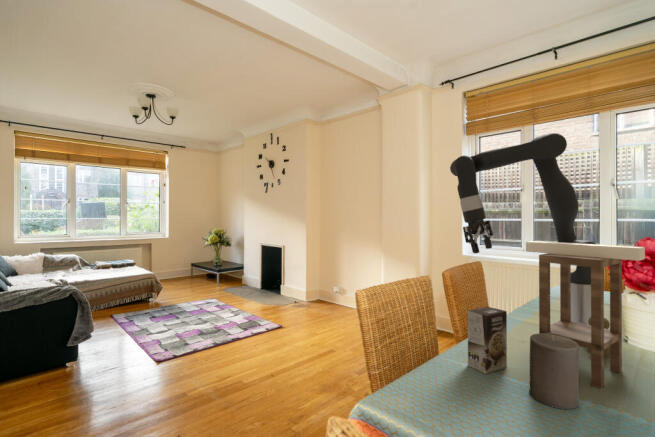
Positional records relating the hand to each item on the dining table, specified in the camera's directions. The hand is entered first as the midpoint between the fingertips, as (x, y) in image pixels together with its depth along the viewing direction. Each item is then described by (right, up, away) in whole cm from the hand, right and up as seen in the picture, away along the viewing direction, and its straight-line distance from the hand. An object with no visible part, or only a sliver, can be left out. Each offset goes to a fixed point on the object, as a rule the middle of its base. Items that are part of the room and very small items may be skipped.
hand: (483, 250), depth 124 cm
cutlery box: (+12, +2, -32) cm, 34 cm away
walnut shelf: (+12, -30, -31) cm, 45 cm away
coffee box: (-12, -31, -29) cm, 44 cm away
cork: (+27, -30, -20) cm, 45 cm away
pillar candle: (-5, -31, -46) cm, 55 cm away
